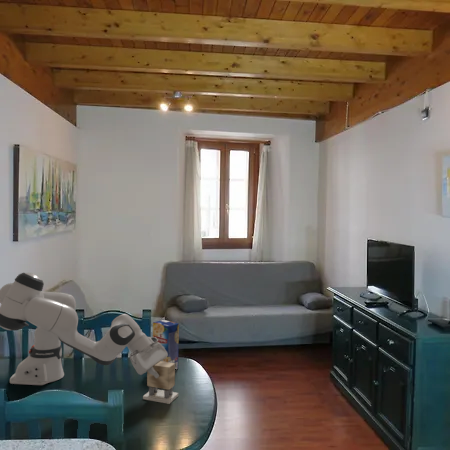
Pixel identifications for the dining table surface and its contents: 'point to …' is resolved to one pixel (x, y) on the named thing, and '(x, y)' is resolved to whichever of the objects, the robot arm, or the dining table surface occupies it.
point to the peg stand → (160, 395)
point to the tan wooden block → (162, 376)
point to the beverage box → (168, 339)
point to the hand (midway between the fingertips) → (162, 374)
